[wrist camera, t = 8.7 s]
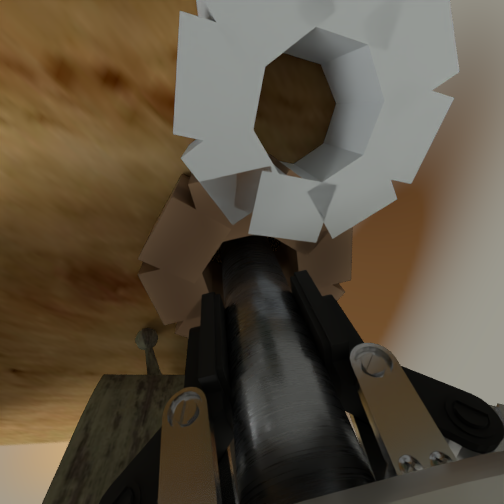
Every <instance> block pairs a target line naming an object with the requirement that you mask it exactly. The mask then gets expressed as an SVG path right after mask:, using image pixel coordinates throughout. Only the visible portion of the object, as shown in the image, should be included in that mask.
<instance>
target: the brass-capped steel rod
mask: <svg viewBox="0 0 504 504" xmlns="http://www.w3.org/2000/svg"><path fill="white" fill-rule="evenodd" d="M220 250H221V265H222V279H223V293H224V307H225V316H226V330H227V344H228V357H229V371H230V385H231V405H232V419H233V433H234V447H235V461H236V475H237V489H238V503H239V504H294V503H298V502H302V501H305V500H309V499H313V498H316V497H320V496H324V495H328V494H331V493H335V492H339V491H343V490H346V489H350V488H354V487H357V486H361V485H365V484H369V483H372V482H376V480H375V478H374V475H373V473H372V471H371V469H370V466H369V464H368V462H367V460H366V457H365V455H364V453H363V451H362V448H361V446H360V444H359V442H358V439H357V437H356V435H355V433H354V431H353V428H352V426H351V424H350V422H349V419H348V417H347V415H346V413H345V410H344V408H343V406H342V404H341V401H340V399H339V397H338V395H337V392H336V390H335V388H334V386H333V383H332V381H331V379H330V377H329V375H328V372H327V370H326V368H325V366H324V364H323V362H322V359H321V357H320V355H319V353H318V350H317V348H316V346H315V344H314V341H313V339H312V337H311V335H310V332H309V330H308V328H307V326H306V323H305V321H304V319H303V317H302V315H301V312H300V310H299V308H298V306H297V303H296V301H295V299H294V297H293V294H292V292H291V289H290V287H289V285H288V283H287V280H286V278H285V276H284V274H283V271H282V269H281V267H280V265H279V263H278V260H277V258H276V256H275V254H274V251H273V249H272V247H271V245H270V242H269V240H268V238H267V236H261V235H250V236H245V237H241V238H237V239H232V240H228V241H224V242H222V244H221V248H220Z"/></svg>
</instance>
